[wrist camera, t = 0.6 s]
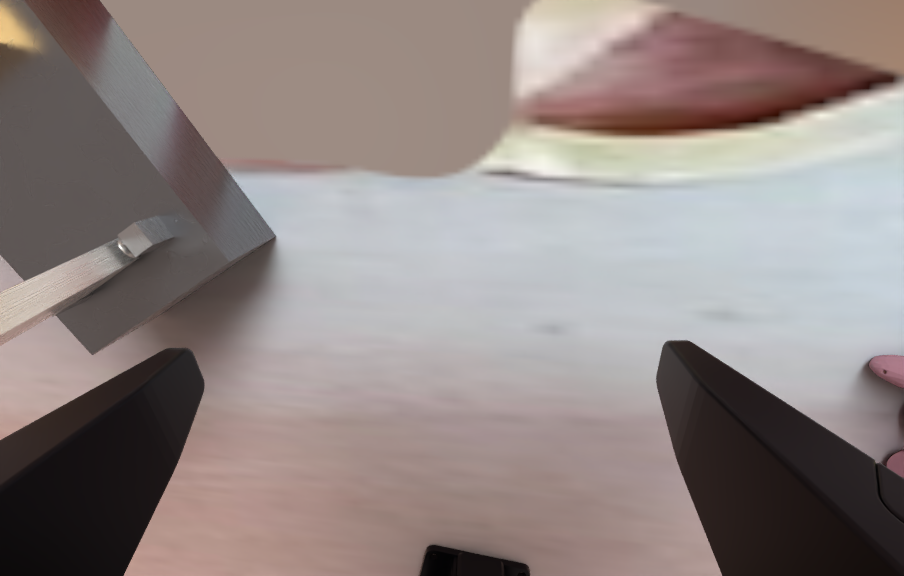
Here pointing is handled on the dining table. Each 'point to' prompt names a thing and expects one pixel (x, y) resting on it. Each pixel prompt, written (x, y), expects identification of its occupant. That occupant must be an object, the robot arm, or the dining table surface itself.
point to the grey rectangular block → (107, 170)
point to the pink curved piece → (900, 374)
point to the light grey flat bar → (59, 288)
